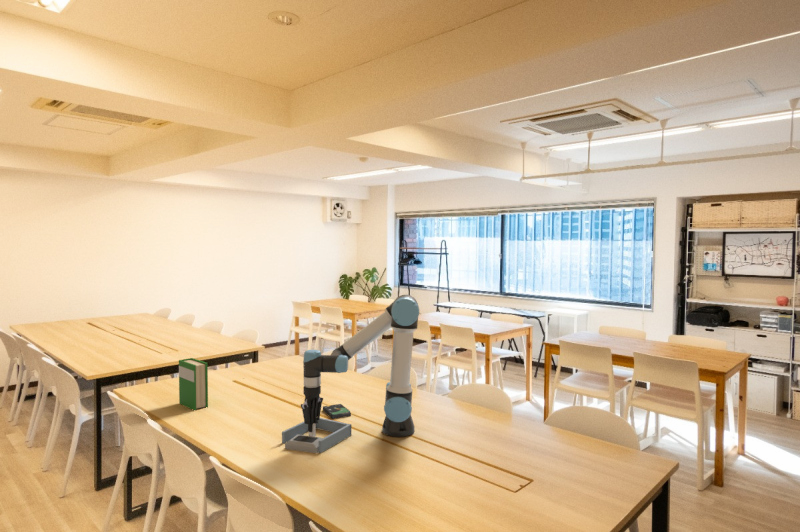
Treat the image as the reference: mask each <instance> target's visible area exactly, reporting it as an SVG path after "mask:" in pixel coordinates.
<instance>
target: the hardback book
mask: <svg viewBox="0 0 800 532" xmlns="http://www.w3.org/2000/svg"><path fill="white" fill-rule="evenodd" d="M208 367H209V366H208V362H205V361H203V360H199V359H196V358H193V357H189V358H184V359H179V360H178V390H179V391H178V397H179V401H178V402H179V403H180V404H179V405H182V406H183V405H184V407H186V408H188V409H190V410H192V409H193V410H192V411H194V410H196V411H197V409H201V408H206V407H207V408H209V388H208V387H209V385H208V384H209V381H208V380H209V378H208V373H209V372H208V371H209V370H208Z"/></svg>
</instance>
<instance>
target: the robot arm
mask: <svg viewBox="0 0 800 532" xmlns="http://www.w3.org/2000/svg"><path fill="white" fill-rule="evenodd" d="M419 316H420V307H419V303H418V301H417V299H416V298H415V297H413V296H412V295H409V294H401V295H399V296H397V297H396V298H395V299H394V301H393V302H391V303H390V304H389V305H388V306H387V307H385V310H384V312H383V313H381V314H380V315H378V316H377V317H376V318H375V319H373V321H371V322H370V323H368V324H367V325H365V327H363V328H362V329H361V330H359V331H358V332H356V334H354V335H353V336H352V337H350V338H349V339H347V340H346V341H345V342H344V343H342V344H341V345H340V346H338V347H336V348H334V350H332V352H331V354H322V352H321V350H320V349H308V350H305V351H304V352H303V361H302V363H303V391H302V392H303V395H304V396H305V397H304V402H303V403H301V404H300V408H301V411H302V416H303V422H304V423H305V424H308V432H307V433H308V436H314V437H317V435H316V431H317V428H316V423H318V420H319V419H320V418H321V417H320V416H321V410H322V404H323V401H324V397H321V396H320V395H321V392H322V390H321V389H322V386H321V384H322V377H321V376H322V375H321V374H322V373H329V374H330V373H334V374H335V373H338V374H342V373H346V372H348V370H349V360H350V359H352V358H353V357H354V356H356V355H357V354H358V353H360V352H362V350H364V349H365V348H366V347H367V346H369V345H371V344H372V342H374V341H375V340H377V339H378V338H379V337H381V336H382V335H383V334H384V333H386V332H388V331H389V330H390V329H392V330H393V341H392V353H391V366H390V379H389V380H390V381H389V382H387V383H386V385H385V400H384V406H383V411H384V414H385V416H384V420H383V423H382V427H381V429H382V433H383V434H384V435H386V436H389V437H395V438H400V437H408V436H411V435H413V434H414V433H415V430H416V429H415V423H414V420H413V416H412V412H413V407H412V401H413V388H412V383H410V381H411V369H412V357H413V344H414V332H415V331H416V330H418V325H419V324H418V323H419Z"/></svg>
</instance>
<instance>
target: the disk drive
mask: <svg viewBox="0 0 800 532" xmlns="http://www.w3.org/2000/svg"><path fill="white" fill-rule="evenodd" d="M322 411H323V412H324V413H325V414H326V415H327V416H328V415H329V416H328V417H330V418H331V420H335V418H336V419H340V418H346V417H351V416H352V412H351V411H350V410H349V408H347V407H345V406H344V405H343V404H341V403H337V404H330V405H329V406H328V405H323V406H322Z"/></svg>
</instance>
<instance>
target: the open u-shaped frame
mask: <svg viewBox="0 0 800 532" xmlns="http://www.w3.org/2000/svg"><path fill="white" fill-rule="evenodd" d="M316 430H322V431H325V432H326V431H327V432H330V434H328V435H327V436H325V437H322V438H323V439H321V440H319V452H318V453H320V454H322V453H324V452H325V451H327V450H329V449H330V448H332V447H334V446H335V445H337V444H339V443H340V442H342V441H344V440H346V439H347V438H349V437H351V436H352V424H350V423H347V422H344V421H343V422H341V421H338V420H334V419H328V418H323V417H320V419H319V420H318V423H316ZM306 433H309V432H308V424H305V423H304V421H302V422H299V423H298V424H296V425H293V426H291V427H289V428H287V429H285V430H283V431H282V432H281V444H286V443H287V442H288V441H289V440H291V439H292V438H294V437H295V436H296V435H305V434H306Z"/></svg>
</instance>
